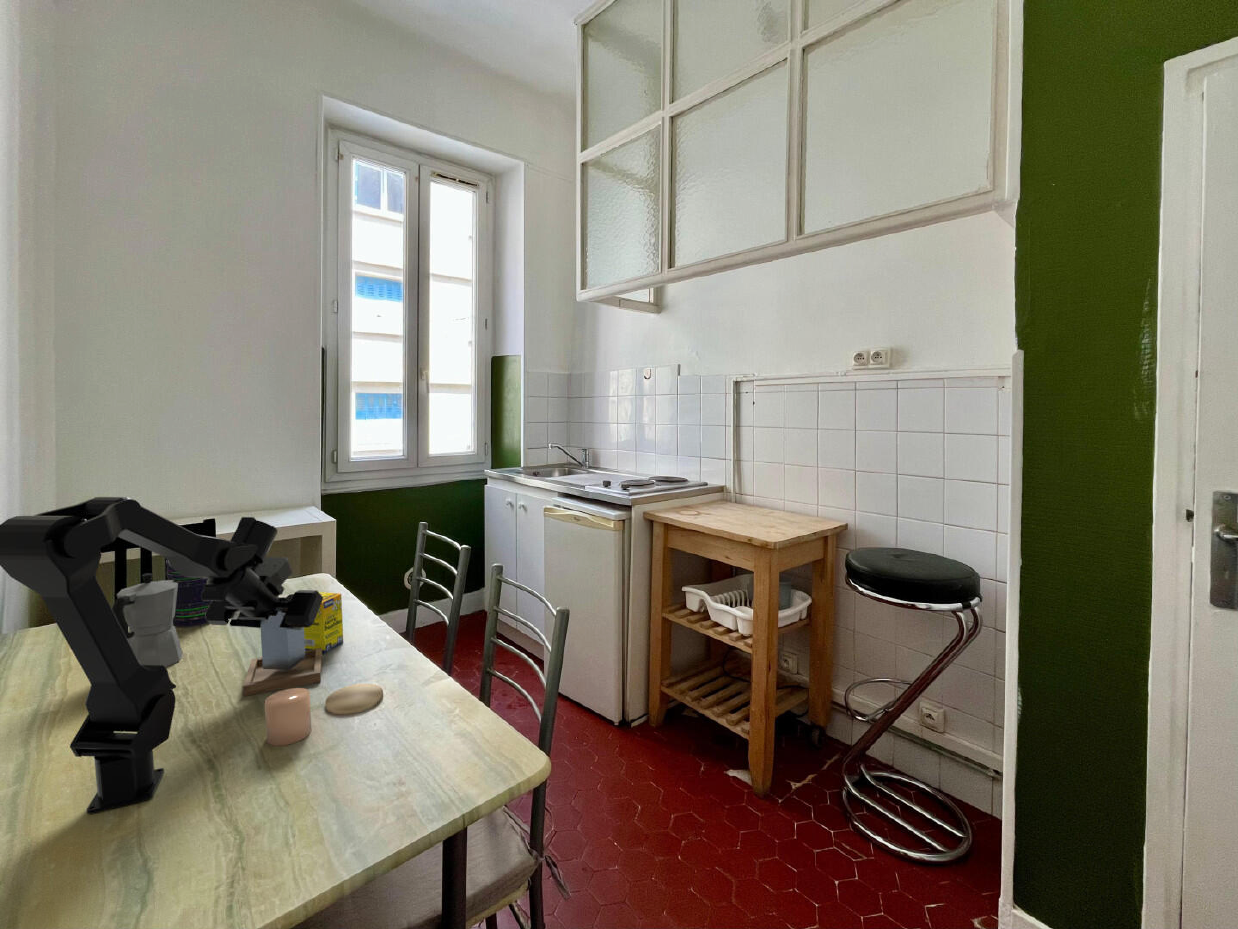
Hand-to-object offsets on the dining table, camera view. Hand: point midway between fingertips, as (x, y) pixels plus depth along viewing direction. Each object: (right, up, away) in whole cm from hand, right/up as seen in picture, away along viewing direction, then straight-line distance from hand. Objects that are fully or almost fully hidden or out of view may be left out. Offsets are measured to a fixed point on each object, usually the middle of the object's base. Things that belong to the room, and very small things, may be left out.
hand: (287, 626), depth 109 cm
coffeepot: (-29, -9, +3) cm, 30 cm away
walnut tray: (0, -9, 0) cm, 9 cm away
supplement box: (0, -8, +12) cm, 14 cm away
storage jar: (-37, -6, +27) cm, 46 cm away
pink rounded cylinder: (+12, -11, -20) cm, 26 cm away
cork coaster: (+17, -10, -10) cm, 22 cm away
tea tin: (0, -7, -1) cm, 7 cm away
